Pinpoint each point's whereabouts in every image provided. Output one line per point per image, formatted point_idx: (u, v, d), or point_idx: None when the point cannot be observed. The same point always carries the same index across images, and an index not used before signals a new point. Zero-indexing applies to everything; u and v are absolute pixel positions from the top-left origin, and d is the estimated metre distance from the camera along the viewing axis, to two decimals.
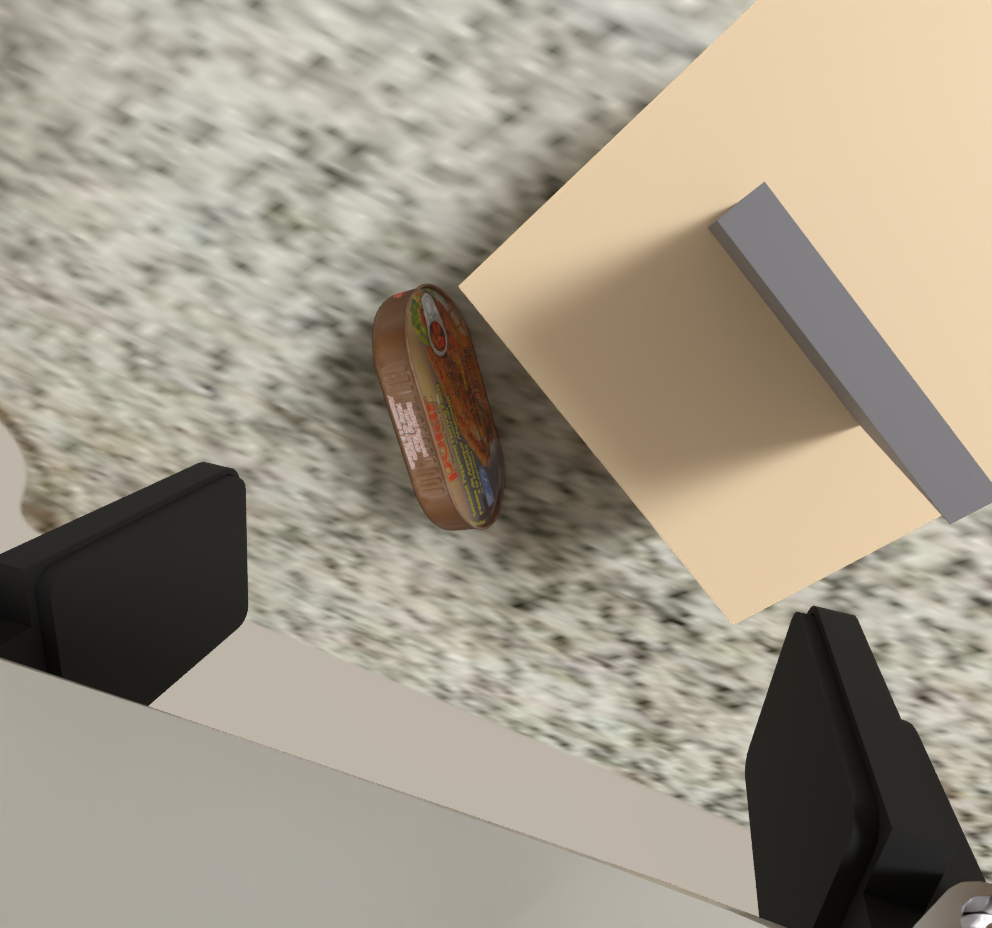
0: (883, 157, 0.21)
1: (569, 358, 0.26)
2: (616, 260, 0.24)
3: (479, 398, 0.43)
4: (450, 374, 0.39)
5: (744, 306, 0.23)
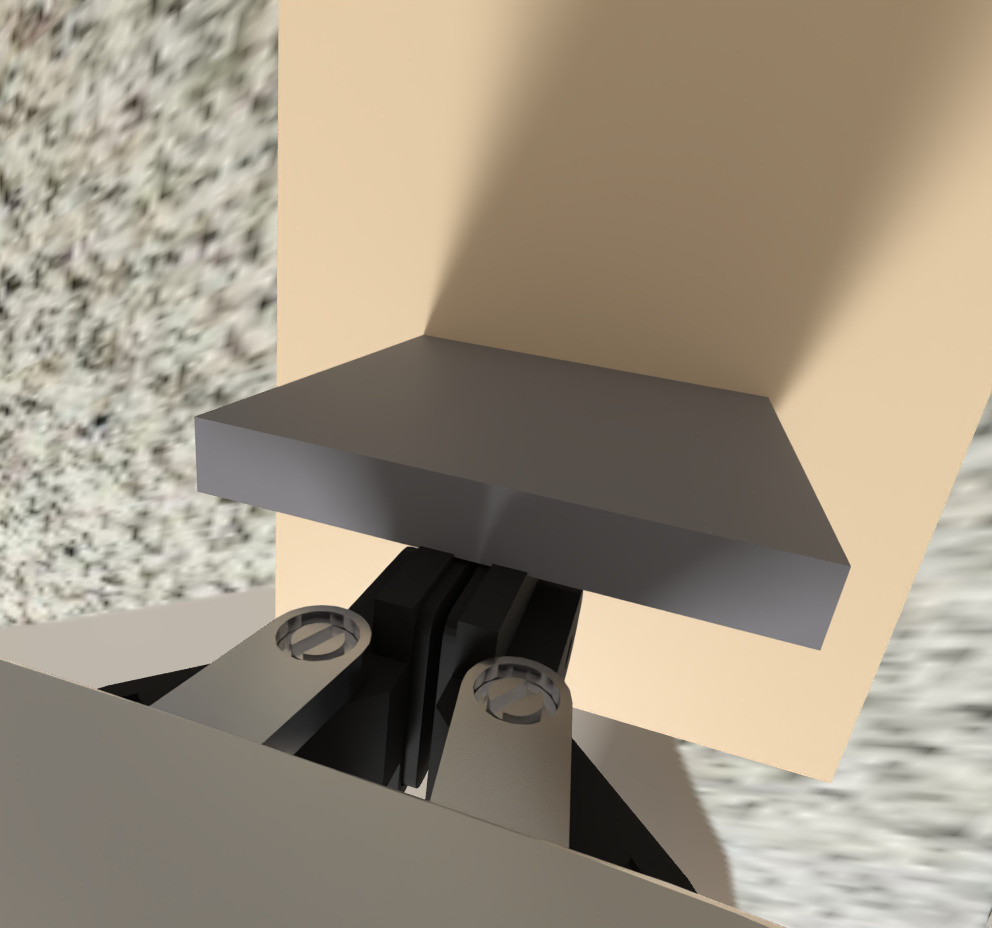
0: None
1: (830, 81, 0.14)
2: (862, 273, 0.14)
3: None
4: None
5: (648, 350, 0.16)
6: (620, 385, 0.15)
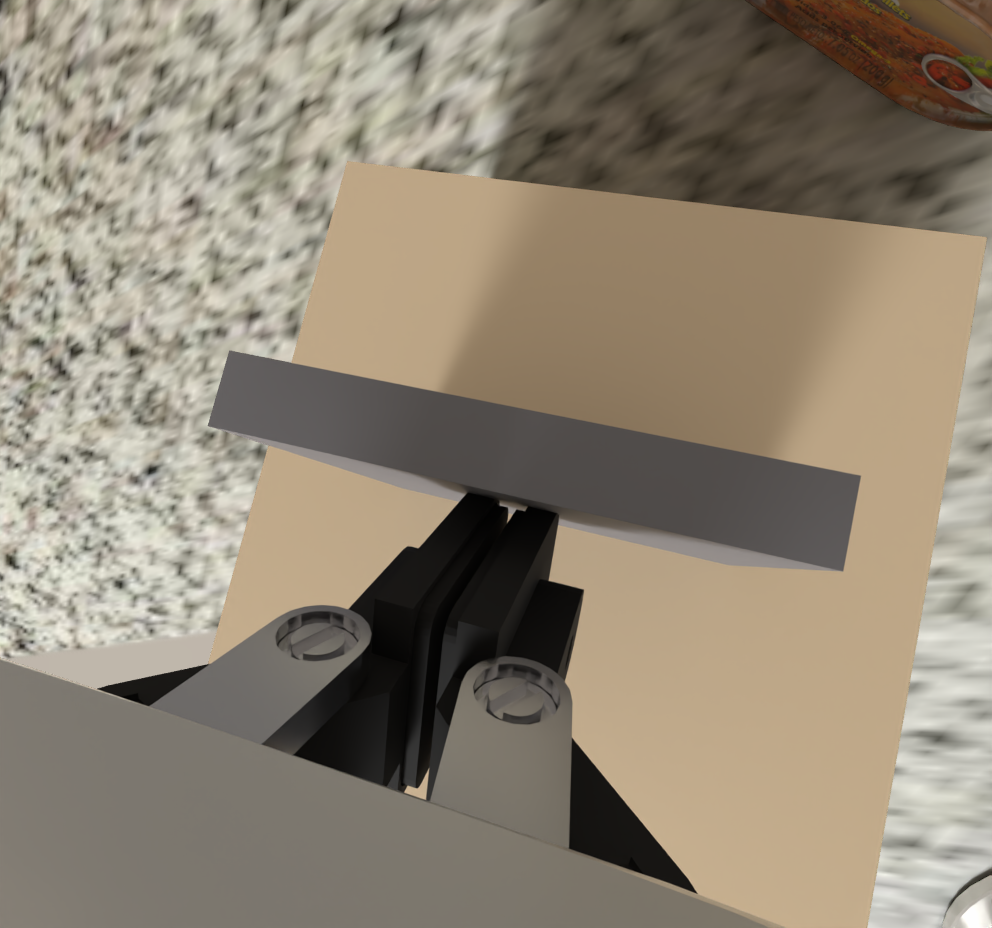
0: (622, 703, 0.17)
1: (767, 271, 0.18)
2: (809, 413, 0.17)
3: (823, 36, 0.28)
4: (892, 40, 0.25)
5: None
6: None
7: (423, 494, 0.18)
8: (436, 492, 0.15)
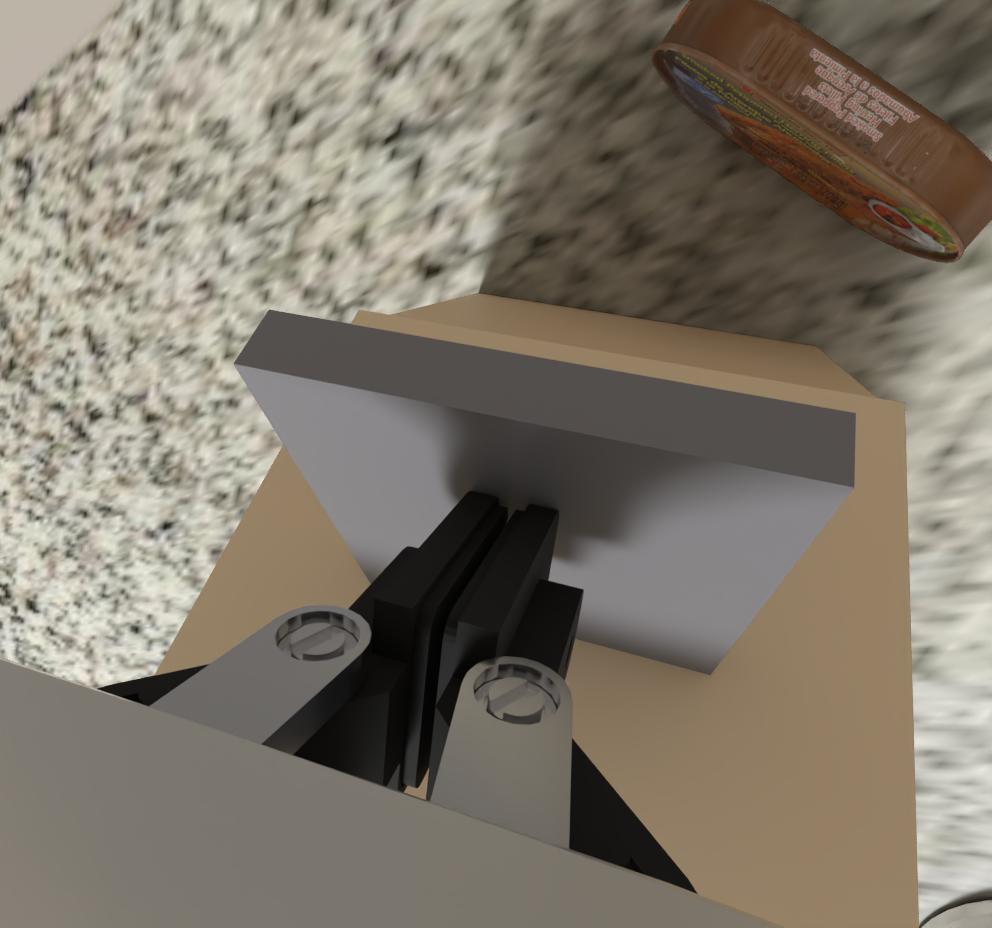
0: None
1: None
2: None
3: (784, 164, 0.30)
4: (842, 182, 0.28)
5: None
6: None
7: None
8: None
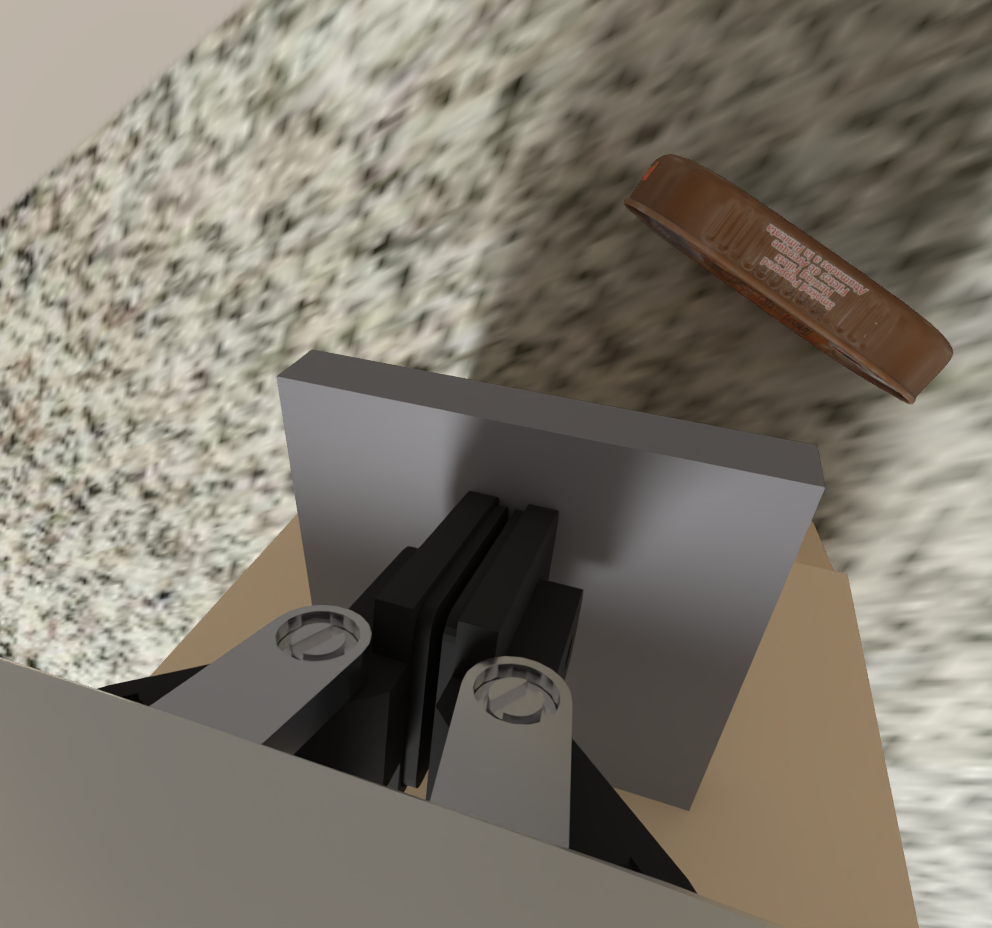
0: None
1: None
2: None
3: (752, 292, 0.32)
4: None
5: None
6: None
7: None
8: None
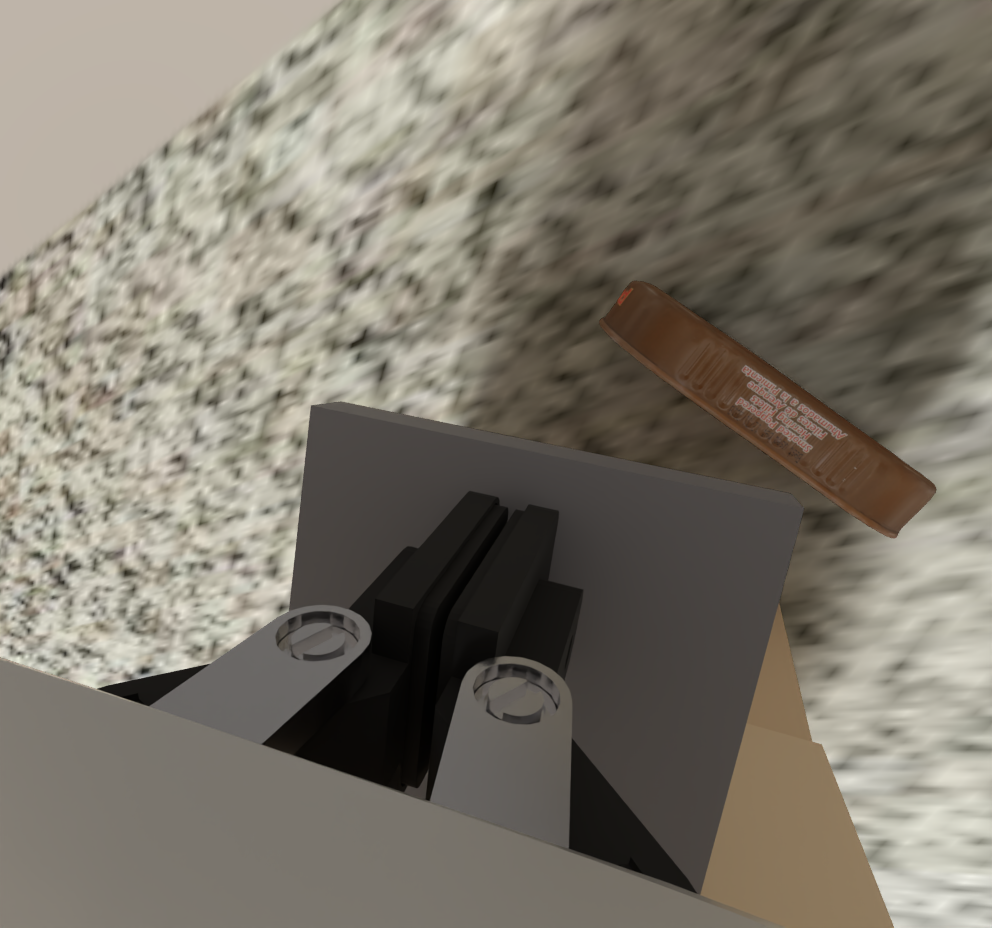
0: None
1: None
2: (728, 825, 0.16)
3: None
4: None
5: None
6: None
7: None
8: None
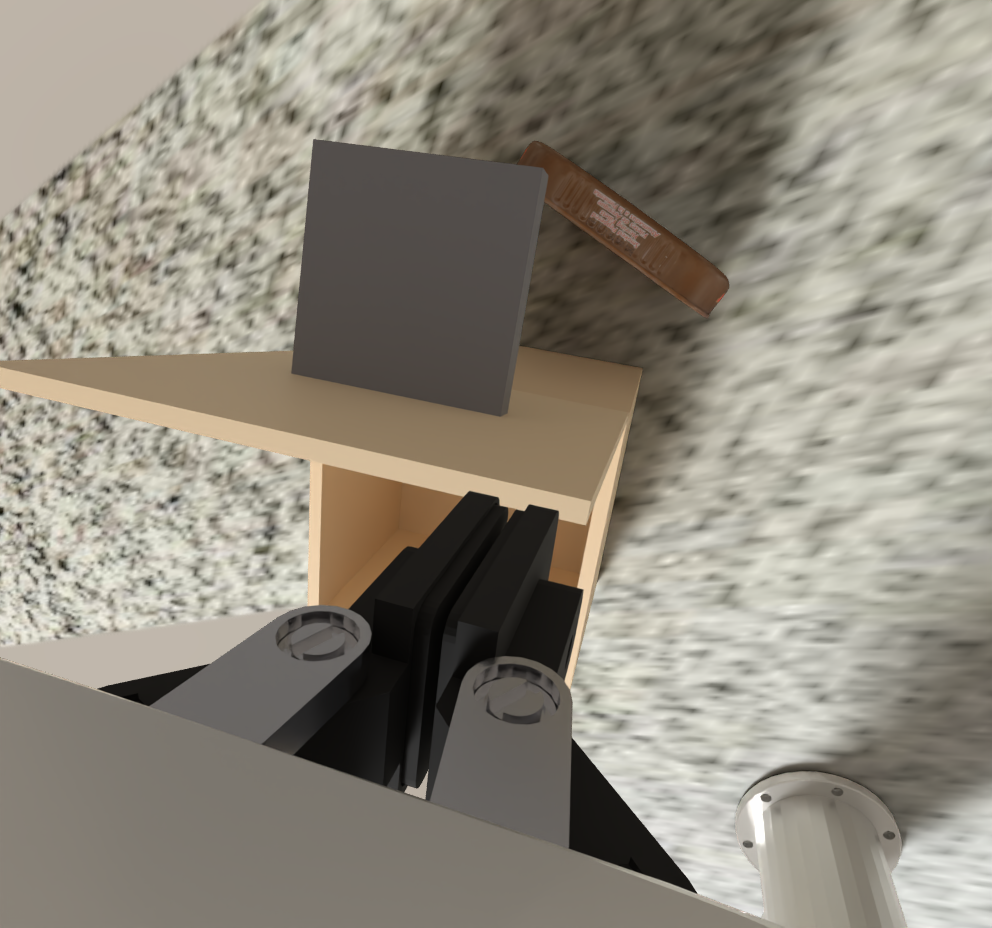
0: (417, 419, 0.22)
1: (527, 396, 0.33)
2: (548, 410, 0.29)
3: None
4: None
5: None
6: None
7: (304, 376, 0.27)
8: (344, 300, 0.26)
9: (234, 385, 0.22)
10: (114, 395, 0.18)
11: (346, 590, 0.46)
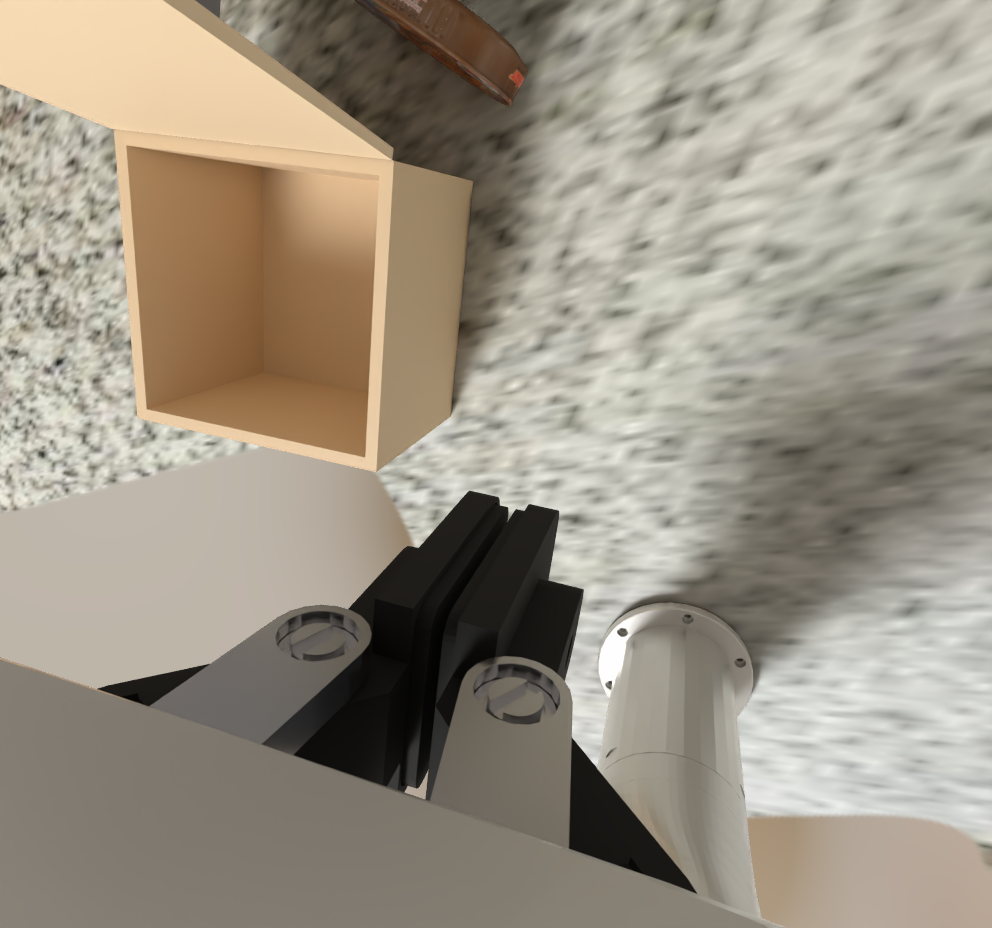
0: None
1: None
2: None
3: (432, 49, 0.45)
4: (445, 52, 0.42)
5: None
6: None
7: None
8: None
9: None
10: None
11: (184, 399, 0.48)
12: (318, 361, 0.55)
